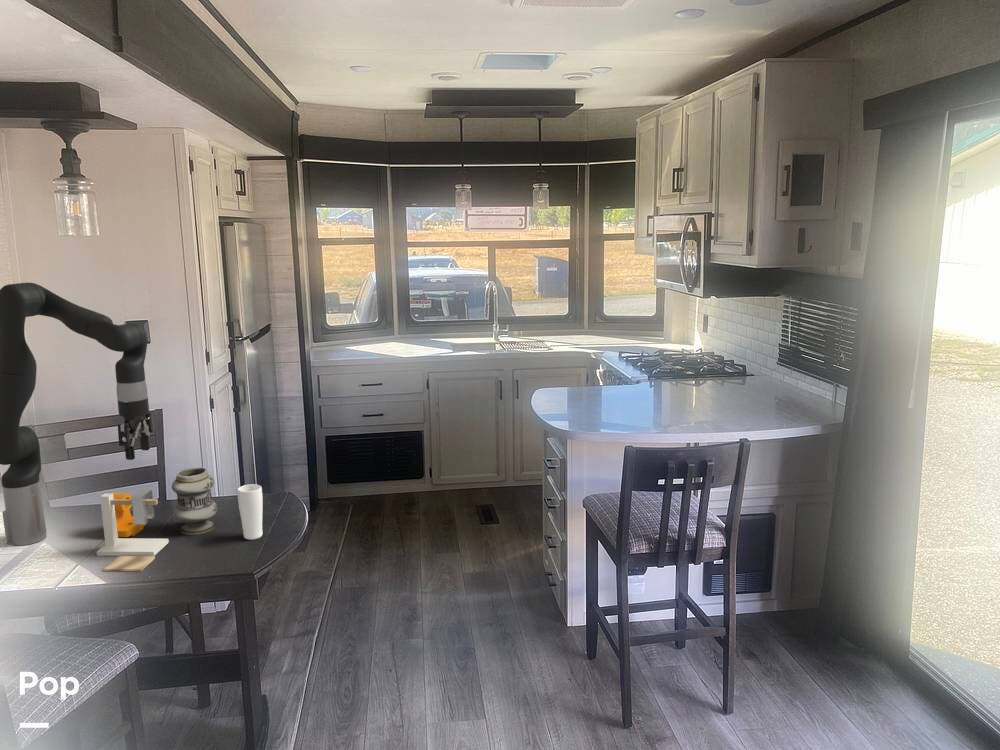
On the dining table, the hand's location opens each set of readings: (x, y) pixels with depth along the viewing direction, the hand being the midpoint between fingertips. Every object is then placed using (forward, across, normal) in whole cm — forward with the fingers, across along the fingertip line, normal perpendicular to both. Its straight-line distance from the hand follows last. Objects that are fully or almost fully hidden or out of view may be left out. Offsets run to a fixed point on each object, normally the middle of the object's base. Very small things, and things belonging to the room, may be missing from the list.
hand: (138, 454), depth 212 cm
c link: (+19, 0, 0) cm, 19 cm away
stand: (+28, 0, -4) cm, 28 cm away
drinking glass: (+28, -9, +27) cm, 40 cm away
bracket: (+28, -12, -12) cm, 33 cm away
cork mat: (+28, +10, 0) cm, 30 cm away
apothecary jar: (+28, -15, +8) cm, 33 cm away
